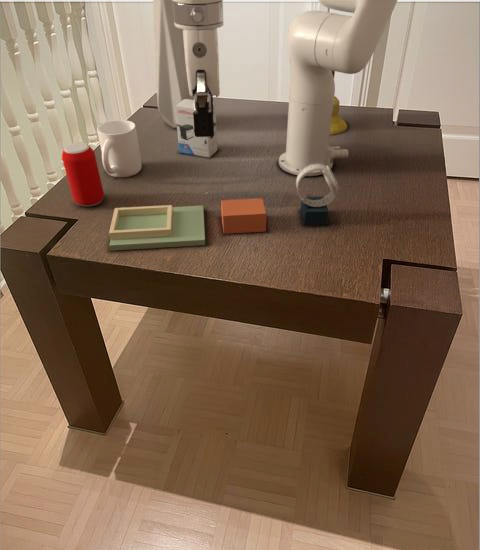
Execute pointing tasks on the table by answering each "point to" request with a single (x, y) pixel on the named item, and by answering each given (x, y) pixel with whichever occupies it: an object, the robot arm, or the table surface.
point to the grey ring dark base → (316, 207)
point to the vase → (169, 62)
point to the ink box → (187, 134)
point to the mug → (119, 148)
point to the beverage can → (83, 174)
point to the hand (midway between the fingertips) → (204, 125)
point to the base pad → (157, 227)
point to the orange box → (243, 216)
